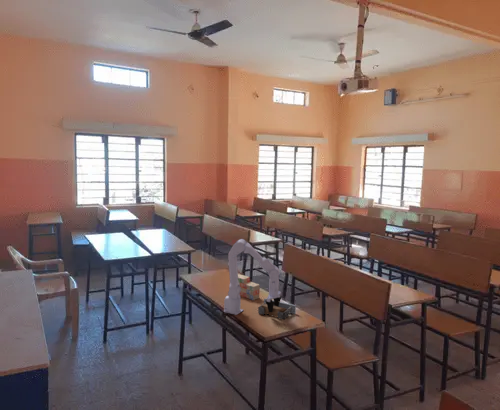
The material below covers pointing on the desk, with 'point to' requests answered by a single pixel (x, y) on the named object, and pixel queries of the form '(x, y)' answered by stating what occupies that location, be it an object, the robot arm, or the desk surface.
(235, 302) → the robot arm
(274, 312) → the rail
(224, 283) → the desk surface
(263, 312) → the cup bracket left
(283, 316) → the cup bracket right
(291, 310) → the backboard
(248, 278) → the stack of blocks
